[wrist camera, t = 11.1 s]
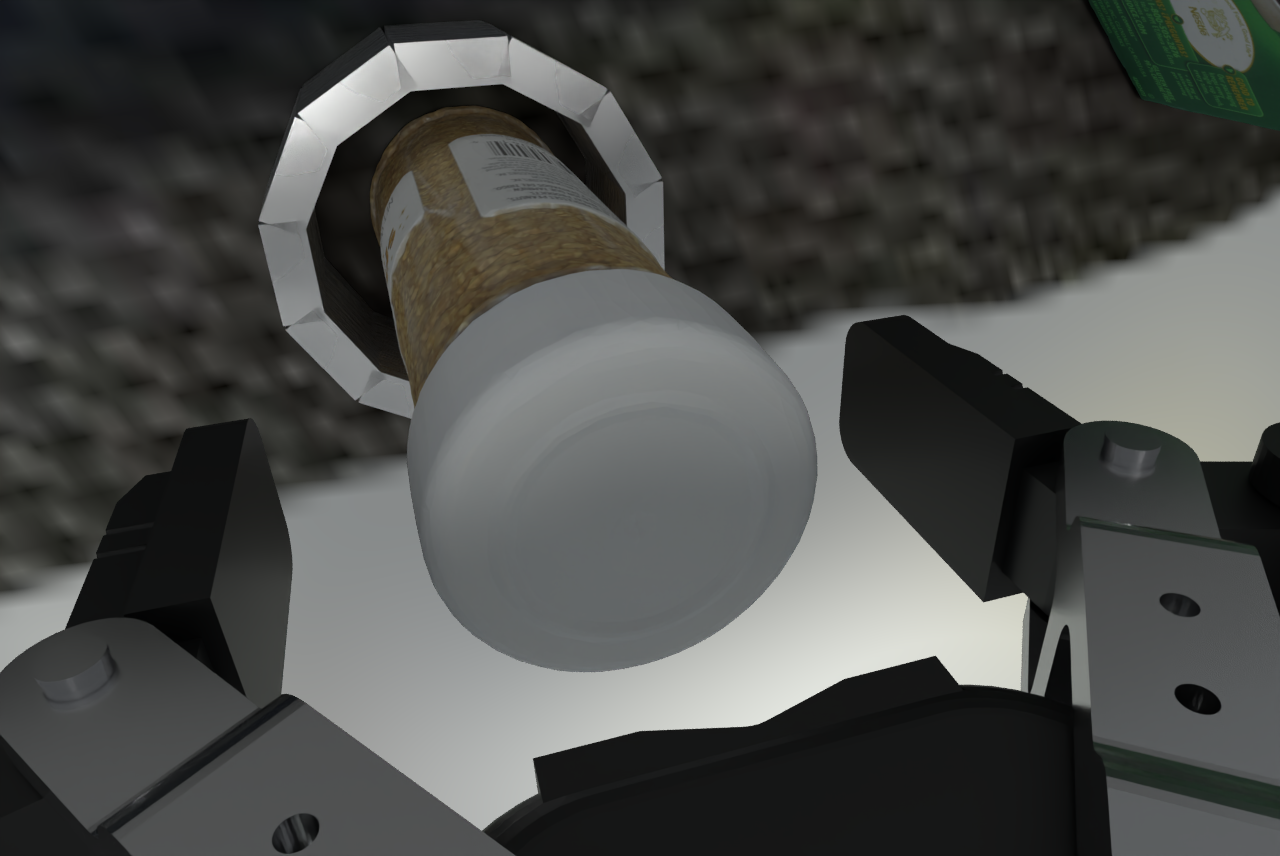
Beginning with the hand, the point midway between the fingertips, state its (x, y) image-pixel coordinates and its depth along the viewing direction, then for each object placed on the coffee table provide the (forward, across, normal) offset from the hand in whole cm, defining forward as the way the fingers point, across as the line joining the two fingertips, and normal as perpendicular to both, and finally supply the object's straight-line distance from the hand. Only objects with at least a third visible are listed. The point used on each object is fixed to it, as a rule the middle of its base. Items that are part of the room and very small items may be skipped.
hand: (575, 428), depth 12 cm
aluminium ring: (+11, 0, 0) cm, 11 cm away
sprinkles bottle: (+11, 0, 0) cm, 11 cm away
